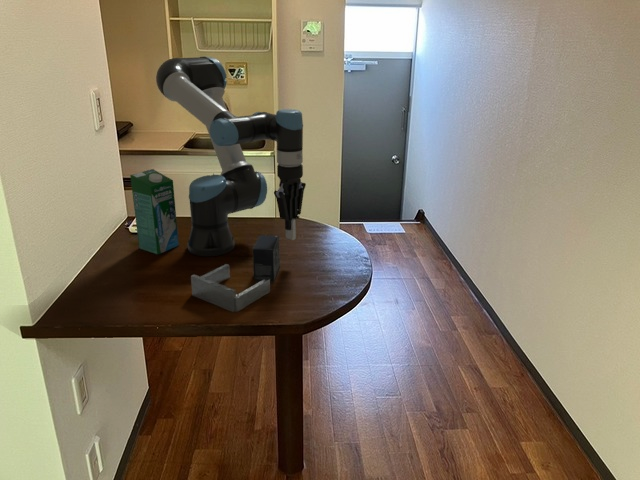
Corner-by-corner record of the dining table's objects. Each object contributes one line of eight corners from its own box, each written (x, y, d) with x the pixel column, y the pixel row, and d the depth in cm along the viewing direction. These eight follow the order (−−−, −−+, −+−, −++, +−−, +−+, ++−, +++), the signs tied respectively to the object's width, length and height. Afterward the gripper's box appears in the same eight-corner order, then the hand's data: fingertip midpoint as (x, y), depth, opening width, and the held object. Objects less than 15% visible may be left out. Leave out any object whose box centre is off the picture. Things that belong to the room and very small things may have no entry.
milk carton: (158, 254, 169) (150, 179, 159) (138, 248, 173) (129, 174, 164) (179, 245, 176) (172, 172, 166) (160, 239, 180) (152, 168, 171)
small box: (259, 265, 163) (258, 234, 159) (280, 266, 163) (280, 235, 159) (252, 280, 154) (251, 247, 149) (274, 282, 153) (274, 249, 149)
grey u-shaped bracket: (190, 294, 145) (189, 275, 143) (226, 276, 156) (225, 257, 153) (235, 313, 136) (234, 292, 134) (270, 291, 147) (269, 272, 145)
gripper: (286, 170, 148) (287, 247, 157) (313, 161, 158) (312, 234, 167) (265, 166, 152) (268, 242, 161) (293, 158, 162) (293, 229, 171)
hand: (290, 238), depth 164 cm, fingers closed
